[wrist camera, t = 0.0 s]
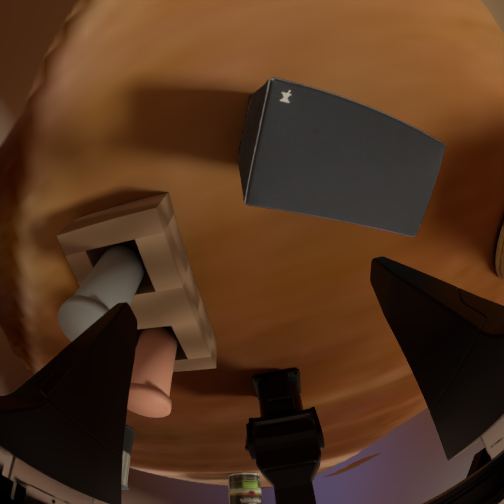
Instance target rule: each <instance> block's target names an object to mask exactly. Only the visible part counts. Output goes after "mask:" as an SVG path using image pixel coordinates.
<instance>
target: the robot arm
mask: <svg viewBox="0 0 504 504" xmlns="http://www.w3.org/2000/svg"><path fill="white" fill-rule="evenodd" d="M370 281H371V284H372V287H373V289H374V291H375V294H376V296H377V299H378V301H379V304H380V306H381V309H382V311H383V313H384V316H385V318H386V320H387V322H388V324H389V325H390V327H391V329H392V331H393V333H394V335H395V337H396V339H397V341H398V343H399V345H400V347H401V349H402V351H403V353H404V355H405V357H406V359H407V361H408V363H409V365H410V368H411V370H412V372H413V374H414V376H415V378H416V381H417V383H418V385H419V387H420V390H421V392H422V394H423V396H424V399H425V401H426V404H427V406H428V408H429V411H430V414H431V416H432V419H433V421H434V424H435V426H436V429H437V432H438V434H439V437H440V440H441V443H442V445H443V448H444V451H445V454H446V457H447V459H448V460H450V459H452V458H454V457H455V456H457V455H458V454H460V453H462V452H463V451H465V450H466V449H468V448H469V447H471V446H472V445H474V444H475V443H476V442H478V441H479V440H482V442H483V444H484V446H485V448H484V449H482V450H481V451H480V452H478V453H477V454H475V456H474V459H473V461H472V464H471V467H470V470H469V472H468V475H467V477H466V479H464V480H463V481H461V482H459V483H458V484H456V485H455V486H453V487H451V488H450V489H448V490H447V491H445V492H443V493H441V494H440V495H438V496H436V497H434V498H432V499H430V500H428V501H427V502H425V503H423V504H504V306H503V305H500V304H497V303H495V302H492V301H489V300H487V299H484V298H481V297H479V296H476V295H474V294H472V293H469V292H467V291H465V290H463V289H460V288H457V287H456V286H453V285H451V284H449V283H446V282H444V281H442V280H439V279H437V278H435V277H432V276H430V275H428V274H425V273H423V272H420V271H418V270H415V269H413V268H411V267H408V266H406V265H403V264H401V263H398V262H396V261H393V260H391V259H388V258H386V257H377V258H373V260H372V263H371V274H370ZM137 325H138V323H137V319H136V316H135V315H134V313H133V311H132V309H131V307H130V305H129V304H128V303H127V302H123V303H117V304H116V305H115V306H113V307H112V308H111V309H110V310H109V311H107V312H106V313H105V314H104V315H103V316H102V317H100V318H99V319H98V320H97V321H96V322H94V323H93V324H92V325H91V326H90V327H89V328H87V329H86V330H85V331H84V332H83V333H82V334H80V335H79V336H78V337H77V338H76V339H75V340H74V341H72V342H71V343H70V344H69V345H68V346H67V347H66V348H65V349H63V350H62V351H61V352H60V353H59V354H58V356H56V357H54V358H53V359H52V360H51V361H50V362H49V363H48V364H47V365H45V366H44V367H43V368H42V369H41V370H40V371H38V372H37V373H36V374H35V375H34V376H32V377H31V378H30V379H29V380H28V381H26V382H25V383H24V384H23V385H22V386H20V387H19V388H18V389H17V390H15V391H14V392H13V393H11V394H8V395H5V396H0V504H94V500H95V501H98V502H101V503H105V504H121V484H122V461H123V458H122V457H123V444H124V433H125V423H126V414H127V406H128V398H129V391H130V384H131V378H132V372H133V366H134V359H135V349H136V336H137ZM252 382H253V385H254V388H255V391H256V394H257V397H258V400H259V404H260V413H261V417H259V418H249V423H248V424H246V428H247V438H246V445H245V449H246V451H247V452H249V453H250V456H251V457H252V460H253V461H256V464H257V467H258V468H259V470H260V471H261V473H262V475H263V476H264V477H265V478H266V479H267V481H268V482H269V483H270V484H271V485H272V486H273V487H274V490H275V498H276V504H316V500H315V495H314V490H313V485H312V481H313V480H314V477H315V475H316V473H317V471H318V469H319V467H320V461H321V449H324V438H323V433H322V429H321V426H320V422H319V419H318V416H317V413H316V410H315V407H312V408H310V409H306V410H303V406H302V401H301V397H300V393H301V387H300V372H299V369H292V370H287V371H281V372H276V373H270V374H264V375H257V376H253V377H252Z"/></svg>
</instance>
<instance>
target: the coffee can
mask: <svg viewBox="0 0 504 504" xmlns="http://www.w3.org/2000/svg"><path fill="white" fill-rule="evenodd" d="M228 489H229V504H262V496H261V486H260V474H258V473H250V472H243V473H233V474H229V475H228Z"/></svg>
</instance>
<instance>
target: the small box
mask: <svg viewBox="0 0 504 504" xmlns="http://www.w3.org/2000/svg"><path fill="white" fill-rule="evenodd" d="M248 105H249V106H248V110H247V114H246V121H245V126H244V131H243V136H242V141H241V142H240V147H239V158H238V165H239V170H240V176H241V183H242V190H243V196H244V198H243V200H244V203H245V204H246V205H250V206H257V207H264V208H269V209H276V210H282V211H288V212H294V213H300V214H306V215H311V216H317V217H322V218H327V219H333V220H338V221H343V222H348V223H353V224H357V225H362V226H367V227H371V228H376V229H381V230H385V231H389V232H393V233H397V234H402V235H406V236H410V237H415V235H416V233H417V231H418V229H419V227H420V224H421V222H422V219H423V217H424V214H425V212H426V208H427V206H428V203H429V200H430V197H431V195H432V191H433V188H434V185H435V182H436V179H437V176H438V172H439V169H440V165H441V162H442V158H443V154H444V151H445V148H446V145H445V144H444V143H443V142H441V141H440V140H438V139H436V138H434V137H433V136H431V135H429V134H427V133H425V132H423V131H422V130H420V129H418V128H416V127H414V126H411V125H410V124H408V123H406V122H403V121H401V120H399V119H397V118H395V117H393V116H391V115H388V114H386V113H384V112H382V111H379V110H377V109H374V108H372V107H370V106H367V105H364V104H362V103H359V102H356V101H353V100H350V99H348V98H345V97H342V96H340V95H336V94H333V93H330V92H327V91H324V90H321V89H318V88H314V87H311V86H307V85H303V84H299V83H296V82H292V81H288V80H283V79H279V78H271V79H269V80H267V82H266V84H265V85H263V86H262V87H261V88H260V89H259V90H257V91H256V92H255V93H253V94H251V95H249V100H248Z"/></svg>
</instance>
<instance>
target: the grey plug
mask: <svg viewBox="0 0 504 504" xmlns="http://www.w3.org/2000/svg"><path fill="white" fill-rule="evenodd" d="M143 275H144V265H143V262H142V260H141V259H140V257H139V256H138V255H137V254H136V253H135V252H134V251H133V250H131V249H129V248H127V247H124V246H113V247H111V248H109V249H108V250H107V251H106V252H105V253H104V254H103V256H102V257H101V258H100V260H99V261H98V262H97V264H96V265H95V266H94V268H93V269H92V270H91V272H90V273H89V274H88V276H87V277H86V279H85V280H84V281H83V283H82V284H81V286H80V287H79V289H78V290H77V292H76V293H75V294H74V296H71V297H69V298H67V299H66V300H65V301H64V303H63V304H62V306H61V307H60V309H59V311H58V316H57V317H58V323H59V326H60V328H61V330H62V331H63V333H64V334H65V335H66V337H67V338H68V339H69V340H70V341H71V342H72V341H74V340H75V339H76V338H77V337H78V336H79V335H80V334H82V333H83V332H84V331H85V330H86V329H87V328H89V327H90V326H91V325H92V324H93V323H94V322H96V321H97V320H98V319H99V318H100V317H102V316H103V315H104V314H105V313H106V312H107V311H109V310H110V309H111V308H112V307H113V306H115V305H116V304H117V303H123V302H127V303H128V304H129V305H130V304H131V302H132V300H133V297H134V295H135V293H136V291H137V289H138V286H139V284H140V282H141V280H142V278H143Z"/></svg>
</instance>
